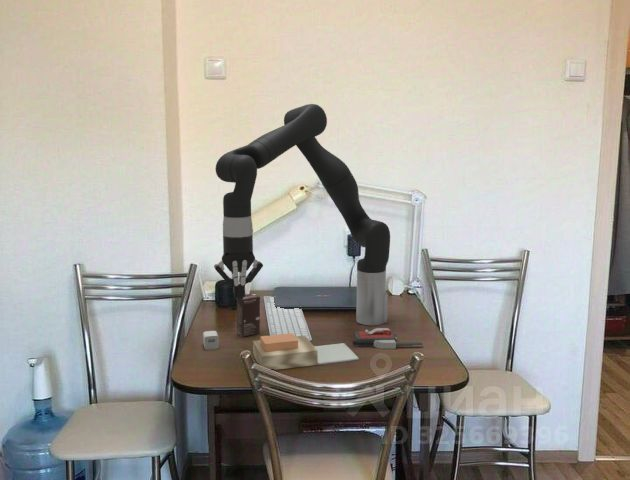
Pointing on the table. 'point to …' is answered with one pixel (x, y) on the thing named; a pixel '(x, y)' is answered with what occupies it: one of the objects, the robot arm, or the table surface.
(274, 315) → the keyboard
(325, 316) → the table surface
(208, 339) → the usb wall charger
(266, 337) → the tile
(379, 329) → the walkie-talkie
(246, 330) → the box
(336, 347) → the mat
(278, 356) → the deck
